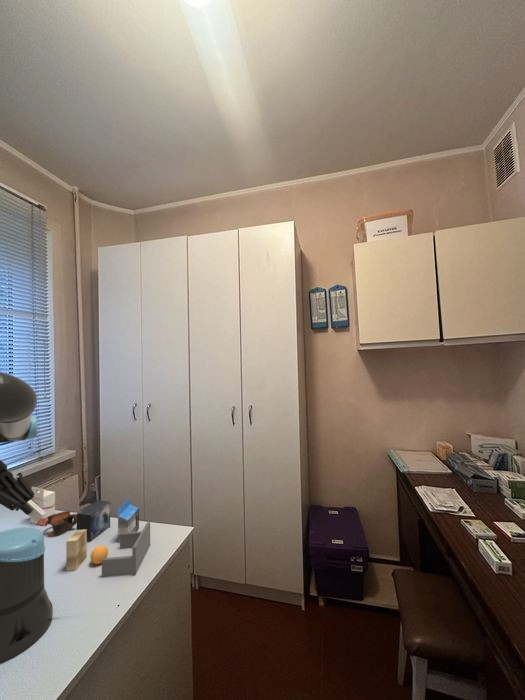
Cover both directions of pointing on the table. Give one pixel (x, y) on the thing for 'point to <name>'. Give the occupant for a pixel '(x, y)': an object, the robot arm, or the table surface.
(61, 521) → the pottery mug
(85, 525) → the small box
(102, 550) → the ball
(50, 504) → the ink cartridge box
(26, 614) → the robot arm
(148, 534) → the pitch
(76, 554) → the wooden block
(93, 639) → the table surface
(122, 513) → the label tape cartridge
